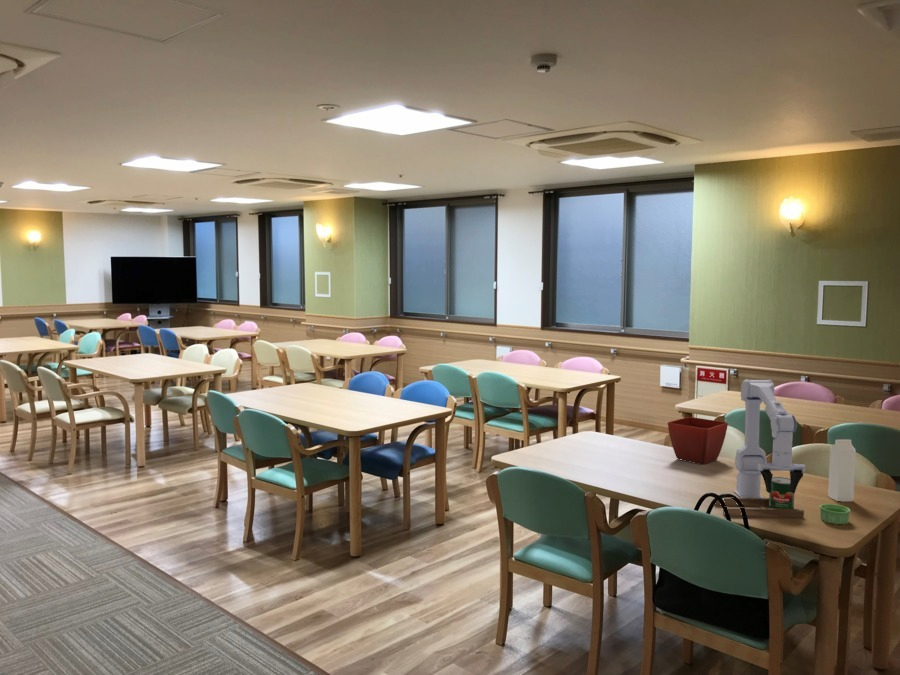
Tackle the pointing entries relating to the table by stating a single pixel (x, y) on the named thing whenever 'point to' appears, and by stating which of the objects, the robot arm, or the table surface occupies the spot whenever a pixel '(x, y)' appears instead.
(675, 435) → the plant pot
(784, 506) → the canned tomato
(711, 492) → the table surface
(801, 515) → the beam channel
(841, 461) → the milk
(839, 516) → the ramekin
